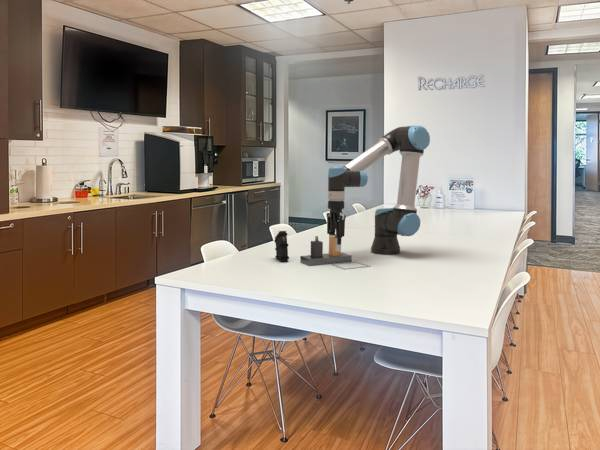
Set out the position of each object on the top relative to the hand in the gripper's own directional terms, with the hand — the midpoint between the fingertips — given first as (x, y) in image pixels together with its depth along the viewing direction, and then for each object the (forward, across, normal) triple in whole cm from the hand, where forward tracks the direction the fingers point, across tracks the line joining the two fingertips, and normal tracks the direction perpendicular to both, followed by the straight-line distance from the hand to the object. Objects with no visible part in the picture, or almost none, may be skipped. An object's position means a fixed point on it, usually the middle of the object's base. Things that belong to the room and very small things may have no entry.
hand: (335, 250), depth 240 cm
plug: (+3, 0, 0) cm, 3 cm away
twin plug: (+5, 0, -10) cm, 11 cm away
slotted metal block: (+6, 0, -5) cm, 8 cm away
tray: (+6, +12, +1) cm, 13 cm away
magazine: (+6, -14, -21) cm, 26 cm away
